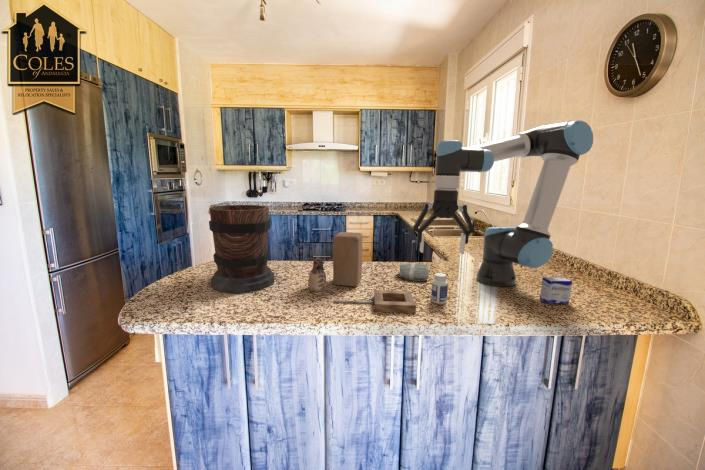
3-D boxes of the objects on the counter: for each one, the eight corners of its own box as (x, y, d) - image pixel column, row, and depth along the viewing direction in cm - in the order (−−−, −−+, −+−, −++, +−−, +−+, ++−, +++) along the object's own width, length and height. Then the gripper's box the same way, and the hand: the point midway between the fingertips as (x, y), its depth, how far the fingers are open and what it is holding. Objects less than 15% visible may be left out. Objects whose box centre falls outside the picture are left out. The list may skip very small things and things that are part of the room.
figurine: (330, 287, 126) (330, 257, 124) (321, 293, 120) (321, 261, 118) (314, 284, 129) (314, 254, 127) (304, 289, 123) (304, 259, 121)
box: (547, 304, 112) (550, 281, 111) (539, 299, 117) (542, 276, 115) (569, 304, 113) (572, 280, 111) (560, 299, 117) (563, 276, 116)
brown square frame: (410, 297, 117) (410, 291, 116) (415, 312, 104) (416, 305, 103) (335, 295, 118) (335, 288, 117) (331, 310, 105) (331, 302, 104)
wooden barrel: (204, 294, 116) (198, 211, 111) (221, 270, 145) (217, 203, 139) (272, 291, 121) (270, 210, 115) (276, 268, 149) (274, 203, 144)
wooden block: (357, 287, 126) (358, 237, 122) (332, 285, 128) (332, 235, 124) (361, 279, 136) (362, 232, 132) (338, 277, 138) (339, 231, 134)
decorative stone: (429, 276, 143) (430, 262, 142) (427, 283, 133) (428, 269, 132) (399, 273, 146) (400, 260, 145) (395, 280, 137) (396, 266, 136)
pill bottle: (447, 299, 115) (449, 273, 114) (446, 305, 110) (448, 277, 109) (431, 297, 117) (433, 271, 115) (430, 303, 112) (431, 275, 110)
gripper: (481, 189, 110) (475, 251, 114) (406, 188, 111) (403, 248, 115) (489, 190, 102) (482, 256, 106) (409, 189, 103) (405, 253, 107)
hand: (441, 252), depth 110 cm, fingers open, 13 cm apart
